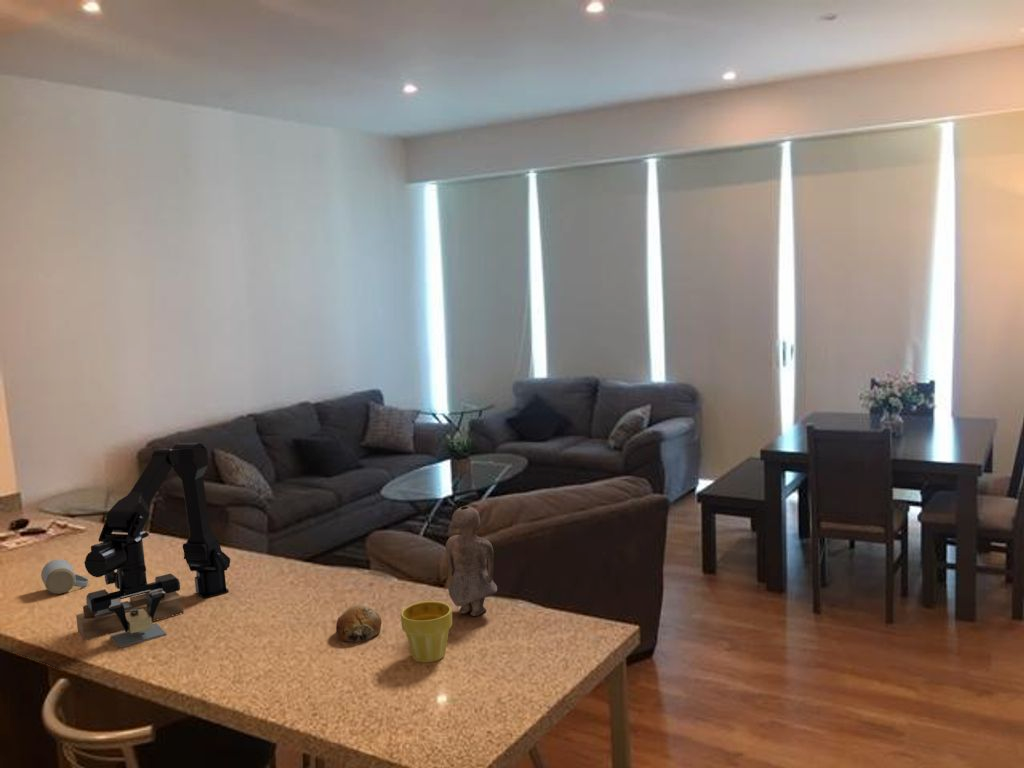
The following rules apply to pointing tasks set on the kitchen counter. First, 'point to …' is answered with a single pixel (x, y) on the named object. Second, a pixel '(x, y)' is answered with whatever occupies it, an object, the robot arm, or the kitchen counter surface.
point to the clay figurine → (469, 563)
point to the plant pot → (427, 629)
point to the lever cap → (138, 620)
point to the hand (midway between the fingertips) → (137, 628)
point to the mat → (137, 636)
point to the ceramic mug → (61, 577)
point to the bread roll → (358, 624)
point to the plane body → (109, 622)
